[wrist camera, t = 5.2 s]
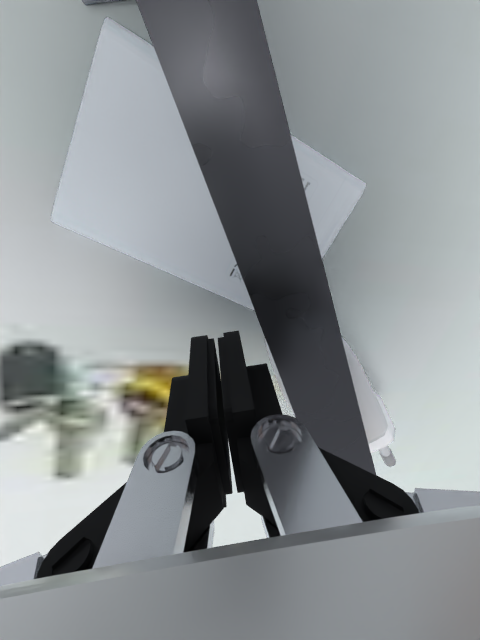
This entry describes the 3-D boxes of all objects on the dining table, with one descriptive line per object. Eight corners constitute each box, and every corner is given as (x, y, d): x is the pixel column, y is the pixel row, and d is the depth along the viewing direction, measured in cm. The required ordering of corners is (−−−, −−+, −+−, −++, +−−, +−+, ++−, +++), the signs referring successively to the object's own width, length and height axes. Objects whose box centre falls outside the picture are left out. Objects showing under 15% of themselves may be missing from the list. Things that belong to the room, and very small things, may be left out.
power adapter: (381, 417, 23) (433, 492, 18) (321, 446, 24) (354, 525, 19) (323, 295, 18) (370, 347, 13) (249, 334, 19) (267, 399, 14)
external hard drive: (115, 29, 13) (356, 182, 16) (62, 217, 16) (276, 313, 19) (104, 11, 11) (371, 183, 15) (47, 222, 14) (282, 326, 18)
